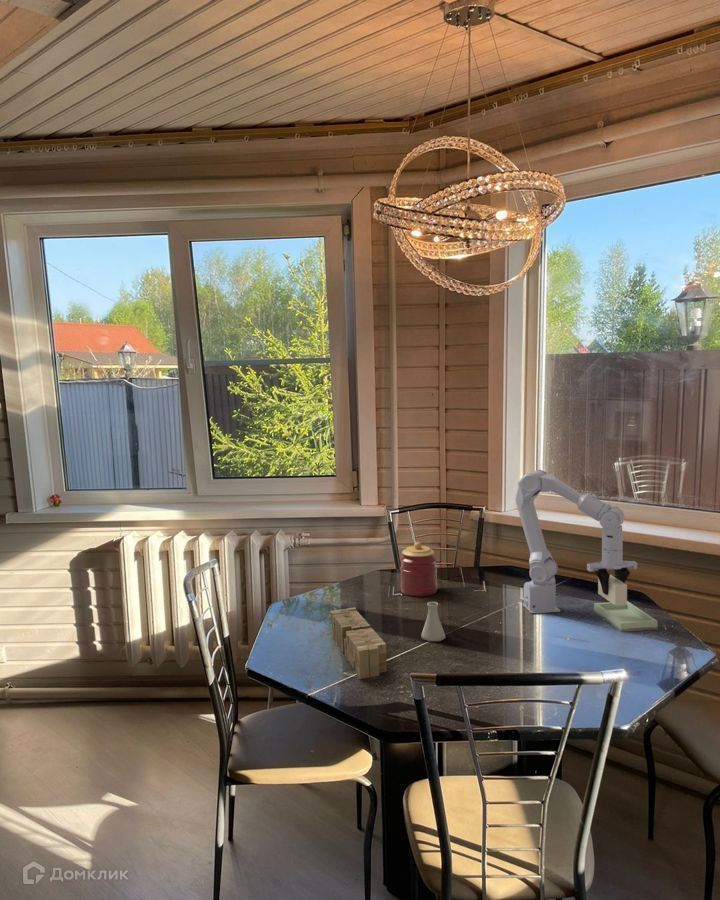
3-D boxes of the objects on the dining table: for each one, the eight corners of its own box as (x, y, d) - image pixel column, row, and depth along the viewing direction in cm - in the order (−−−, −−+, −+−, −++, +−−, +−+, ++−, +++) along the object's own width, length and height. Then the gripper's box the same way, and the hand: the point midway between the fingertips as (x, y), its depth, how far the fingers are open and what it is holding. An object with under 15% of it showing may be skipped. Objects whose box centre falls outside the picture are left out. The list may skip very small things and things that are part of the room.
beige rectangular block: (615, 605, 182) (615, 585, 182) (598, 593, 193) (598, 574, 193) (626, 604, 183) (627, 584, 182) (609, 592, 194) (609, 573, 193)
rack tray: (620, 631, 180) (620, 623, 180) (593, 611, 197) (594, 603, 197) (657, 629, 181) (657, 621, 181) (627, 608, 198) (627, 601, 198)
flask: (448, 633, 183) (447, 600, 182) (443, 643, 176) (442, 608, 175) (424, 631, 185) (423, 598, 184) (418, 640, 179) (417, 606, 178)
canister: (402, 585, 229) (400, 537, 227) (437, 585, 227) (436, 537, 225) (399, 596, 216) (397, 546, 214) (437, 597, 214) (436, 546, 213)
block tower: (388, 678, 158) (356, 632, 186) (388, 646, 157) (356, 605, 185) (358, 683, 156) (330, 636, 184) (358, 651, 155) (330, 608, 183)
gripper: (594, 553, 182) (594, 598, 184) (642, 550, 183) (642, 596, 185) (584, 547, 189) (584, 591, 191) (630, 544, 190) (630, 588, 192)
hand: (611, 593), depth 188 cm, fingers closed on beige rectangular block, 3 cm apart
